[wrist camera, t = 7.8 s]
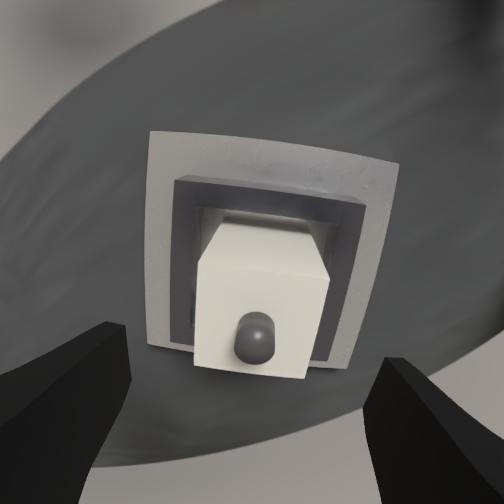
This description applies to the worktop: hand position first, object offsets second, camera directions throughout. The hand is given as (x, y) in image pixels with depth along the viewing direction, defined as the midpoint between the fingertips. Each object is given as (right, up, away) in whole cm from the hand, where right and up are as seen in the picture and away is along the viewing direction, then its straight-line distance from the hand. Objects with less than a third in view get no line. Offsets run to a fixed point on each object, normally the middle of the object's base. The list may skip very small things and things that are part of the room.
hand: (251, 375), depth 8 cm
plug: (+1, +3, +8) cm, 8 cm away
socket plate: (+1, +3, +9) cm, 9 cm away
